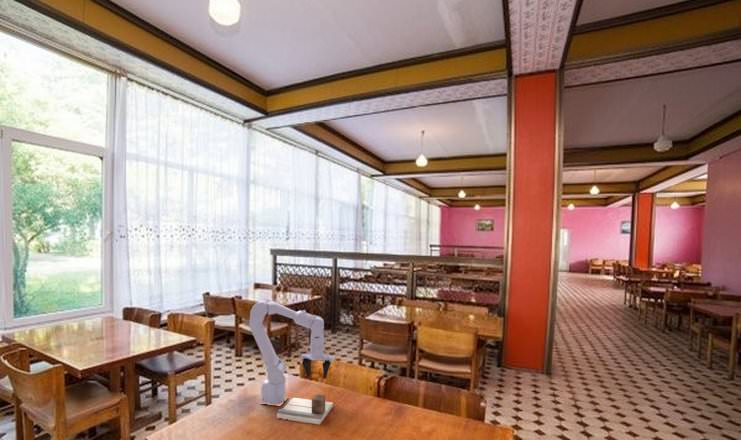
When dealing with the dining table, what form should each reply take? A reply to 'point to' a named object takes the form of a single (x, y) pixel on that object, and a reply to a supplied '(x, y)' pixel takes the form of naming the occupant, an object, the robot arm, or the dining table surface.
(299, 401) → the board
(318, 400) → the block
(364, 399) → the dining table surface
